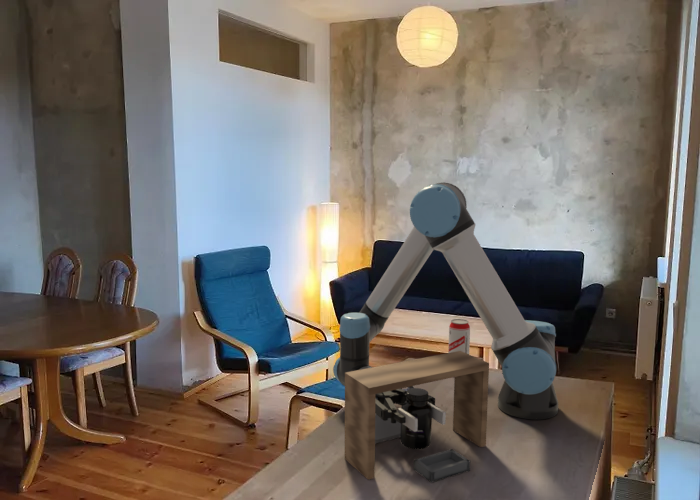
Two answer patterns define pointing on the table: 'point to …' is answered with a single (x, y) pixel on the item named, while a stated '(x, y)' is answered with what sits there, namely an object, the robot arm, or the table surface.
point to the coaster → (386, 429)
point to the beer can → (459, 336)
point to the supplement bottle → (421, 411)
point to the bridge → (405, 374)
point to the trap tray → (441, 465)
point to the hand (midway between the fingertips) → (430, 421)
